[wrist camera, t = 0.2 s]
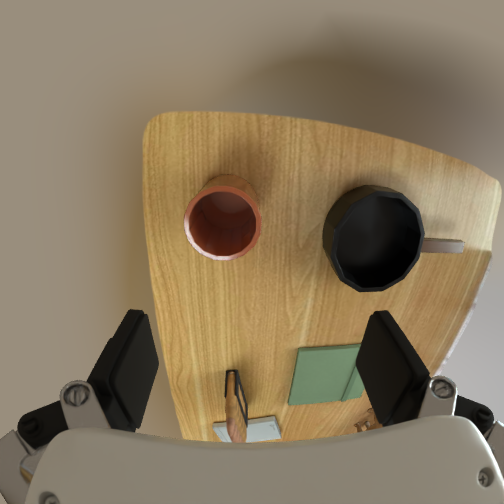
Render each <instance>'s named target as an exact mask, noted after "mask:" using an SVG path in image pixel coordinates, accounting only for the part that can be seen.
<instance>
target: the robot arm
mask: <svg viewBox="0 0 504 504" xmlns="http://www.w3.org/2000/svg"><path fill="white" fill-rule="evenodd" d="M158 366H159V361H158V356H157V352H156V349H155V345H154V340H153V336H152V332H151V328H150V324H149V319H148V315H147V314H144V312H143V311H142V310H133V309H130V310H128V312H127V314H126V315H125V317H124V319H123V321H122V322H121V324H120V326H119V327H118V329H117V331H116V333H115V334H114V336H113V338H110V339H109V341H108V342H107V344H106V346H105V348H104V350H103V351H102V353H101V355H100V357H99V359H98V360H97V363H96V364H95V366H94V368H93V370H92V372H91V374H90V376H89V377H88V379H87V381H86V382H85V381H81V380H76V381H72V382H70V383H68V384H66V385H65V386H64V387H63V389H62V390H61V392H60V400H59V401H57V402H54V403H52V404H49V405H47V406H44V407H42V408H39V409H37V410H34V411H31V412H29V413H27V414H25V415H23V416H22V417H21V419H20V420H19V422H18V427H17V428H18V430H17V431H16V432H15V431H14V430H11V431H10V432H9V433H8V434H6V435H5V436H4V437H2V438H1V439H0V493H1V494H2V496H3V497H4V499H5V501H6V502H7V504H504V425H503V424H502V423H501V422H499V421H498V420H497V421H496V422H494V416H493V413H492V411H491V410H490V409H489V408H488V407H486V406H485V405H482V404H479V403H477V402H474V401H472V400H469V399H466V398H464V397H461V396H459V395H457V387H456V385H455V383H454V382H453V381H452V380H451V379H449V378H447V377H445V376H435V377H432V378H430V376H429V374H430V373H429V371H428V369H427V368H426V366H425V365H424V363H423V362H422V360H421V358H420V357H419V355H418V354H417V352H416V351H415V349H414V348H413V346H412V345H411V343H410V342H409V340H408V339H407V337H406V336H405V334H404V333H403V331H402V330H401V329H400V327H399V326H398V324H397V323H396V321H395V320H394V318H393V317H392V316H391V314H390V313H389V312H388V311H387V310H384V311H375V312H374V313H373V315H371V316H370V318H369V321H368V324H367V327H366V330H365V334H364V337H363V340H362V343H361V346H360V349H359V352H358V355H357V357H356V368H357V370H358V373H359V375H360V377H361V380H362V382H363V385H364V387H365V390H366V392H367V395H368V397H369V400H370V402H371V405H372V408H373V410H374V413H375V415H376V418H377V421H378V423H379V424H382V426H383V427H382V428H377V429H373V430H368V431H363V432H358V433H352V434H347V435H340V436H334V437H326V438H318V439H310V440H299V441H286V442H264V443H232V442H209V441H196V440H185V439H176V438H168V437H160V436H153V435H147V434H141V433H135V430H136V428H138V429H139V428H140V426H141V423H142V419H143V415H144V412H145V409H146V405H147V402H148V399H149V395H150V392H151V389H152V386H153V382H154V379H155V376H156V373H157V370H158Z"/></svg>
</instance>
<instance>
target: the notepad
mask: <svg viewBox="0 0 504 504" xmlns="http://www.w3.org/2000/svg"><path fill="white" fill-rule="evenodd" d="M360 346H361V344H354V345H342V346H329V347H312V348H298V352H297V358H296V363H295V369H294V374H293V379H292V384H291V389H290V394H289V399H288V405H300V404H313V403H323V402H332V401H340V400H341V402H342V401H346V400H347V399H354V398H360V397H361V394H362V392H363V390H364V388H365V387H364V385H363V382H362V380H361V377H360V375H359V373H358V370H357V368H356V357H357V355H358V352H359V349H360Z"/></svg>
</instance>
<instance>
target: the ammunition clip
mask: <svg viewBox="0 0 504 504" xmlns="http://www.w3.org/2000/svg"><path fill="white" fill-rule="evenodd" d="M225 398H226V406H225V413H226V427H227V432H228V435H229V437H230V439H231V441H232V443H246V439H247V428H248V406H247V402H246V399H245V395H244V392H243V388H242V385H241V381H240V377H239V374H238V370H230V371H226V378H225Z"/></svg>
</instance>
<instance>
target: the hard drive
mask: <svg viewBox="0 0 504 504" xmlns="http://www.w3.org/2000/svg"><path fill="white" fill-rule="evenodd" d="M213 430H214V431H215V432H216V434H217V435H218V436H219V438H220V439H221V440H222V442H232V441H231V439H230V437H229V435H228V432H227V427H226V422H223V423H213ZM279 438H281V432H280V429H279V427H278V424H277V421H276V418H275V416H271V417H264V418H258V419H250V420H248V428H247V439H246V443H247V442H256V441H264V440H272V439H279Z"/></svg>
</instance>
